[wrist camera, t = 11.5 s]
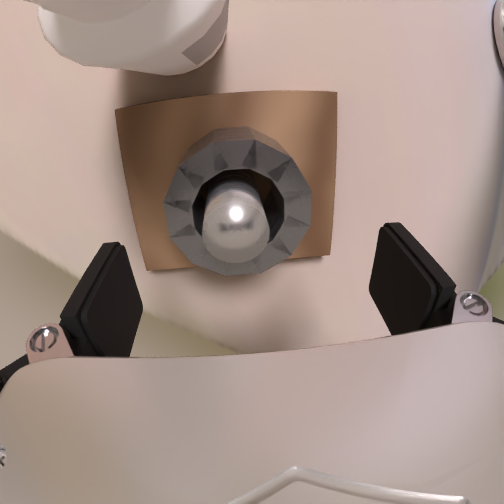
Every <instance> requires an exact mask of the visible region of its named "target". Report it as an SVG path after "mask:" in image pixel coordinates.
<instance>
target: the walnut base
mask: <svg viewBox="0 0 504 504" xmlns="http://www.w3.org/2000/svg"><path fill="white" fill-rule="evenodd" d="M115 116H116V123H117V130H118V137H119V144H120V150H121V156H122V162H123V168H124V173H125V179H126V184H127V189H128V194H129V199H130V204H131V209H132V213H133V218H134V222H135V226H136V231H137V235H138V239H139V243H140V247H141V251H142V255H143V259H144V263H145V267H146V270H147V271H150V270H163V269H175V268H188V267H200V266H197V265H195V264H193V263H192V262H191V261H190V260H189V259H188V258H187V257H186V256H185V255H184V253H183V252H182V251H181V250H180V249H179V248H178V247H177V246H176V244H175V243H174V242H173V241H172V240H171V239H170V238H169V232H168V227H167V221H166V216H165V210H164V204H163V201H164V199H165V196H166V194H167V192H168V189H169V187H170V184H171V182H172V180H173V177H174V175H175V172H176V170H177V168H178V166H179V164H180V162H181V160H182V158H183V157H184V155H185V153H186V151H187V150H188V148H189V146H191V145H192V144H194V143H195V142H197V141H198V140H199V139H201V138H202V137H204V136H205V135H207V134H208V133H210V132H211V131H212V130H214V129H217V128H228V127H242V126H248V127H250V128H252V129H255V130H257V131H259V132H261V133H263V134H265V135H267V136H269V137H271V138H273V139H275V140H276V141H277V142H278V143H279V144H280V145H281V146H282V147H283V148H284V149H285V150H286V152H287V153H288V154H289V155H290V156H291V157H292V158H293V160H294V162H295V163H296V165H297V166H298V168H299V170H300V171H301V173H302V175H303V176H304V178H305V180H306V181H307V183H308V185H309V187H310V188H311V190H312V197H311V226H310V227H309V229H308V231H307V232H306V234H305V235H304V237H303V238H302V240H301V242H300V243H299V245H298V246H297V248H296V249H295V251H294V252H293V254H292V255H291V256H290V257H288V258H286V259H292V258H303V257H314V256H324V255H330V250H331V239H332V227H333V213H334V197H335V178H336V153H337V92H329V91H253V92H235V93H222V94H211V95H201V96H192V97H184V98H177V99H170V100H163V101H157V102H151V103H145V104H140V105H134V106H129V107H124V108H120V109H116V110H115ZM248 170H249V171H250V172H251V173H252V175H253V177H254V180H255V183H256V186H257V190H258V193H259V196H260V199H261V202H262V204H263V203H264V201H265V199H266V197H267V195H268V194H269V192H270V190H271V179H270V178H268V177H266V176H264V175H262V174H260V173H257V172H255V171H253V170H251V169H249V168H248ZM209 180H210V179H209ZM209 180H208V181H206V182H205V183H203V184H202V185H201V187H200V191H201V196H202V197H203V198H204V200H205V201H206V199H207V192H208V185H209Z"/></svg>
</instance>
